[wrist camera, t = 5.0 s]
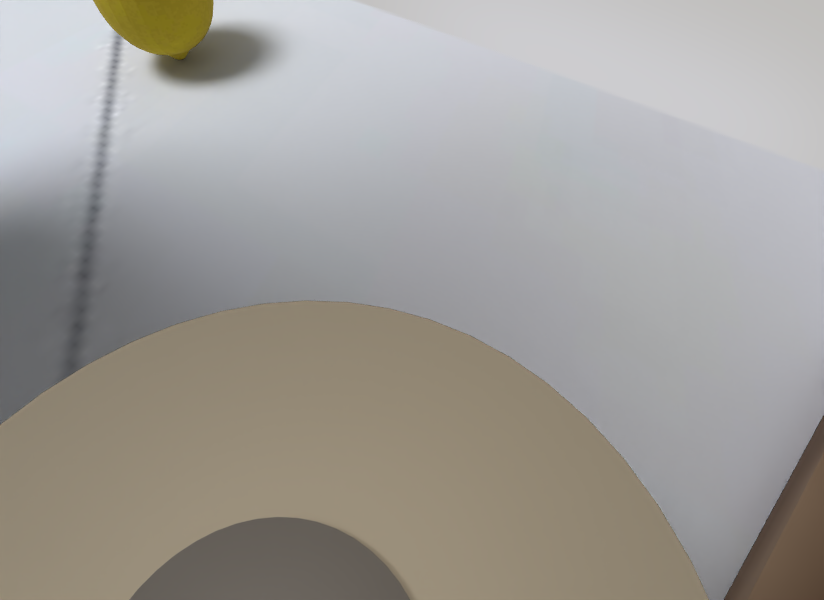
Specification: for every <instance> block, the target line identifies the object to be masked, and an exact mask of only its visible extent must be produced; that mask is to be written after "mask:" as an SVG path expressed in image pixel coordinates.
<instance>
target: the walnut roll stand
mask: <svg viewBox="0 0 824 600" xmlns="http://www.w3.org/2000/svg"><path fill="white" fill-rule="evenodd" d="M724 600H824V416H823V418H822V420H821V421H820V423H819V425H818V427H817V429H816V431H815V432H814V434H813V436H812V438H811V440H810V442H809V443H808V445H807V447H806V449H805V451H804V453H803V455H802V456H801V458H800V460H799V462H798V464H797V466H796V467H795V469H794V471H793V473H792V475H791V477H790V479H789V480H788V482H787V484H786V486H785V488H784V490H783V491H782V493H781V495H780V497H779V499H778V501H777V503H776V504H775V506H774V508H773V510H772V512H771V514H770V515H769V517H768V519H767V521H766V523H765V525H764V527H763V528H762V530H761V532H760V534H759V536H758V538H757V539H756V541H755V543H754V545H753V547H752V549H751V550H750V552H749V554H748V556H747V558H746V560H745V562H744V563H743V565H742V567H741V569H740V571H739V573H738V574H737V576H736V578H735V580H734V582H733V584H732V586H731V587H730V589H729V591H728V593H727V595H726V597H725V598H724Z"/></svg>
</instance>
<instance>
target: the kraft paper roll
mask: <svg viewBox="0 0 824 600" xmlns="http://www.w3.org/2000/svg"><path fill="white" fill-rule="evenodd" d="M0 600H709V599H708V597H707V595H706V592H705V590H704V588H703V586H702V584H701V582H700V579H699V577H698V575H697V573H696V571H695V569H694V566H693V564H692V562H691V560H690V559H689V557H688V555H687V553H686V552H685V550H684V548H683V547H682V545H681V543H680V542H679V540H678V538H677V536H676V535H675V533H674V531H673V530H672V528H671V526H670V525H669V523H668V521H667V520H666V518H665V516H664V514H663V513H662V511H661V509H660V508H659V506H658V504H657V503H656V502H655V500H654V499H653V498H652V496H651V495H650V494H649V492H648V491H647V490H646V488H645V487H644V485H643V484H642V483H641V481H640V480H639V479H638V477H637V476H636V475H635V473H634V472H633V471H632V469H631V468H630V466H629V465H628V464H627V462H626V461H625V460H624V458H623V457H622V456H621V455H620V454H619V453H618V452H617V450H616V449H615V448H614V447H613V446H612V445H611V444H610V443H609V442H608V441H607V440H606V438H605V437H604V436H603V435H602V434H601V433H600V432H599V431H598V430H597V429H596V428H595V426H594V425H593V424H592V423H591V422H590V421H589V420H588V419H587V418H586V417H585V416H584V415H583V414H582V413H581V412H580V411H578V410H577V409H576V408H575V407H574V406H573V405H572V404H570V403H569V402H568V401H567V400H566V399H565V398H564V397H562V396H561V395H560V394H559V393H558V392H557V391H556V390H555V389H553V388H552V387H551V386H550V385H549V384H548V383H546V382H545V381H543V380H542V379H540V378H539V377H538V376H536V375H535V374H533V373H532V372H530V371H529V370H528V369H526V368H525V367H523V366H522V365H520V364H519V363H517V362H516V361H515V360H513V359H512V358H510V357H509V356H507V355H505V354H503V353H501V352H499V351H498V350H496V349H494V348H492V347H490V346H488V345H486V344H485V343H483V342H481V341H479V340H477V339H475V338H474V337H472V336H470V335H467V334H465V333H462V332H460V331H457V330H455V329H452V328H450V327H447V326H445V325H442V324H440V323H437V322H435V321H432V320H430V319H426V318H422V317H419V316H415V315H411V314H408V313H404V312H400V311H397V310H393V309H389V308H383V307H376V306H370V305H363V304H356V303H350V302H330V301H293V302H279V303H265V304H259V305H253V306H248V307H242V308H236V309H231V310H225V311H220V312H217V313H213V314H210V315H206V316H203V317H199V318H196V319H192V320H189V321H185V322H182V323H178V324H175V325H173V326H170V327H168V328H165V329H163V330H160V331H158V332H155V333H153V334H150V335H148V336H145V337H143V338H140V339H138V340H135V341H133V342H131V343H129V344H127V345H125V346H123V347H121V348H119V349H117V350H115V351H113V352H111V353H109V354H107V355H105V356H103V357H101V358H99V359H97V360H95V361H93V362H91V363H89V364H87V365H86V366H84V367H83V368H81V369H79V370H78V371H76V372H75V373H73V374H72V375H70V376H68V377H67V378H65V379H64V380H62V381H60V382H59V383H57V384H56V385H54V386H52V387H51V388H49V389H48V390H46V391H44V392H43V393H41V394H40V395H39V396H37V397H36V398H35V399H34V400H32V401H31V402H30V403H28V404H27V405H26V406H24V407H23V408H22V409H20V410H19V411H18V412H16V413H15V414H14V415H12V416H11V417H10V418H8V419H7V420H6V421H4V422H3V423H2V424H0Z"/></svg>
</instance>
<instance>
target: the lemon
mask: <svg viewBox="0 0 824 600" xmlns="http://www.w3.org/2000/svg"><path fill="white" fill-rule="evenodd" d="M93 1H94V3H95V4H96V6H97V8H98V9H99V11H100V13H101V14H102V16H103V17H104V18H105V20H106V21H107V22H108V23H109V25H110V26H111V27H112V28H113V29H114V30H115V31H116V32H117V33H118V34H119V35H120V36H122V37H123V38H124V39H125V40H127V41H128V42H129V43H131V44H132V45H134V46H136V47H137V48H139V49H142V50H144V51H147V52H149V53H153V54H158V55H169V56H171V57H173V58H175V59H177V60H181V59H184V58H185V57H186V56H187V54H188V52H189V51H190V50H191V49H192V48H194V47H195V46H196V45H197V44H198V43H199V42H200V41H201V40H202V39H203V38H204V37H205V35H206V33H207V31H208V30H209V27H210V25H211V21H212V16H213V0H93Z"/></svg>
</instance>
